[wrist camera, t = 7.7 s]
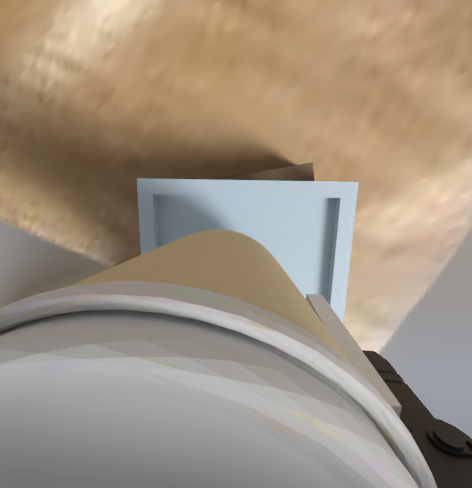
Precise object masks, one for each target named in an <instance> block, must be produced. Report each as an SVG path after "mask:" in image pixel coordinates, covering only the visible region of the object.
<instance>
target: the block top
mask: <svg viewBox="0 0 472 488" xmlns="http://www.w3.org/2000/svg"><path fill="white" fill-rule="evenodd" d="M358 183H359V182H328V181H268V180H208V179H148V178H137V195H138V213H139V231H140V248H141V255H142V254H144V253H146V252H149V251H151V250H153V249H156V248H158V247H161V246H163V245H165V244H168V243H170V242H173V241H175V240H178V239H180V238H182V237H185V236H187V235H190V234H193V233H197V232H200V231H204V230H213V229H221V230H230V231H235V232H238V233H242V234H244V235H246V236H249V237H251V238H253V239H254V240H256V241H257V242H259V243H260V244H262V245H263V246H264V247H265V248H266V249H267V250H268V251H269V252H270V253H271V254H272V255H273V256H274V257H275V259H276V260H277V261H278V262H279V264H280V265H281V266H282V268H283V269H284V270H285V272H286V273H287V275H288V276H289V277H290V279H291V280H292V281H293V283H294V284H295V285H296V287H297V288H298V289H299V291H300V292H301V294H302V295H303V296H304V298H305V299H306V294H318V295H323V297H324V298H325V299H326V301H327V302H328V304H329V305H330V306H331V308H332V309H333V311H334V312H335V313H336V315H337V316H338V318H339V319H340V320H341V322H342V323H343V321H344V312H345V302H346V293H347V284H348V275H349V266H350V256H351V247H352V238H353V229H354V219H355V210H356V201H357V192H358Z"/></svg>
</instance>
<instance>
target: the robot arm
mask: <svg viewBox="0 0 472 488" xmlns="http://www.w3.org/2000/svg"><path fill="white" fill-rule="evenodd" d="M306 301H307V302H308V303H309V305H310V306H311V308H312V309H313V310H314V312H315V313H316V315H317V316H318V317H319V319H320V320H321V322H322V323H323V324H324V326H325V327H326V329H327V330H328V331H329V333H330V334H331V335H332V337H333V338H334V340H335V341H336V342H337V344H338V345H339V347H340V348H341V349H342V351H343V352H344V354H345V355H346V357H347V358H348V360H349V361H350V363H351V364H352V365H353V366H354V367H356V368H357V369H358V370H359V371H360V372H361V373H362V374H363V375H364V376H365V377H366V379H367V380H368V381H369V382H370V383H371V384H372V385H373V386H374V387H375V388H376V389H377V390H378V392H379V393H380V394H381V395H382V396H383V398H384V399H385V400H386V401H387V402H388V404H389V405H390V406H391V407H392V409H393V410H394V411H395V413H396V414H397V415H398V417H399V418H400V420H401V421H402V422H403V424H404V425H405V426H406V428H407V429H408V431H409V432H410V433H411V435H412V437H413V439H414V441H415V442H416V444H417V446H418V448H419V450H420V452H421V453H422V455H423V457H424V459H425V461H426V463H427V465H428V467H429V469H430V471H431V473H432V475H433V477H434V480H435V483H436V485H437V488H472V439H471V438H470V437H469V436H467V435H466V434H465V433H463V432H462V431H460V430H459V429H457V428H456V427H454V426H452V425H450V424H448V423H446V422H444V421H442V420H438V419H435V418H434V417H433V416H432V415H431V413H430V412H429V411H428V410H427V408H426V407H425V406H424V405H423V404H422V402H421V401H420V400H419V399H418V397H417V396H416V395H415V394H414V393H413V391H412V390H411V389H410V388H409V387H408V385H407V384H405V383H404V380H403V379H402V378H401V377H400V376H399V374H397V372H396V371H395V369H394V368H393V367H392V366H391V364H390V363H389V362H388V361H387V360H386V359H384V358H383V357H381V356H380V355H379V354H377V353H376V352H374V351H363V350H361V349H360V347H359V346H358V344H357V343H356V341H355V340H354V339H353V337H352V336H351V334H350V333H349V332H348V330H347V329H346V327H345V326H344V325H343V323H342V322H341V320H340V319H339V318H338V316H337V315H336V313H335V312H334V311H333V309H332V308H331V306H330V305H329V304H328V302H327V301H326V299H325V298H324V297H323V295H318V294H306Z"/></svg>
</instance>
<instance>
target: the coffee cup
mask: <svg viewBox="0 0 472 488" xmlns="http://www.w3.org/2000/svg"><path fill="white" fill-rule="evenodd" d="M0 488H437V485H436V483H435V480H434V477H433V475H432V473H431V471H430V469H429V467H428V465H427V463H426V461H425V459H424V457H423V455H422V453H421V452H420V450H419V448H418V446H417V444H416V442H415V441H414V439H413V437H412V435H411V433H410V432H409V431H408V429H407V428H406V426H405V425H404V424H403V422H402V421H401V420H400V418H399V417H398V415H397V414H396V413H395V411H394V410H393V409H392V407H391V406H390V405H389V404H388V402H387V401H386V400H385V399H384V398H383V396H382V395H381V394H380V393H379V392H378V390H377V389H376V388H375V387H374V386H373V385H372V384H371V383H370V382H369V381H368V380H367V379H366V377H365V376H364V375H363V374H362V373H361V372H360V371H359V370H358V369H357V368H356V367H354V366H353V365H352V364H351V363H350V361H349V360H348V358H347V357H346V355H345V354H344V352H343V351H342V349H341V348H340V347H339V345H338V344H337V342H336V341H335V340H334V338H333V337H332V335H331V334H330V333H329V331H328V330H327V329H326V327H325V326H324V324H323V323H322V322H321V320H320V319H319V317H318V316H317V315H316V313H315V312H314V310H313V309H312V308H311V306H310V305H309V303H308V302H307V301H306V299H305V298H304V296H303V295H302V294H301V292H300V291H299V289H298V288H297V287H296V285H295V284H294V283H293V281H292V280H291V279H290V277H289V276H288V275H287V273H286V272H285V270H284V269H283V268H282V266H281V265H280V264H279V262H278V261H277V260H276V259H275V257H274V256H273V255H272V254H271V253H270V252H269V251H268V250H267V249H266V248H265V247H264V246H263V245H262V244H260V243H259V242H257V241H256V240H254V239H253V238H251V237H249V236H246V235H244V234H242V233H238V232H235V231H230V230H221V229H213V230H204V231H200V232H197V233H193V234H190V235H187V236H185V237H182V238H180V239H178V240H175V241H173V242H170V243H168V244H165V245H163V246H161V247H158V248H156V249H153V250H151V251H149V252H146V253H144V254H142V255H139V256H137V257H135V258H132V259H130V260H128V261H125V262H123V263H121V264H119V265H116V266H114V267H112V268H109V269H107V270H105V271H103V272H100V273H98V274H95V275H93V276H91V277H89V278H86V279H84V280H82V281H80V282H78V283H76V284H74V285H72V286H69V287H64V288H60V289H57V290H52V291H49V292H45V293H41V294H37V295H34V296H31V297H29V298H26V299H23V300H20V301H18V302H15V303H13V304H10V305H7V306H4V307H2V308H0Z"/></svg>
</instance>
